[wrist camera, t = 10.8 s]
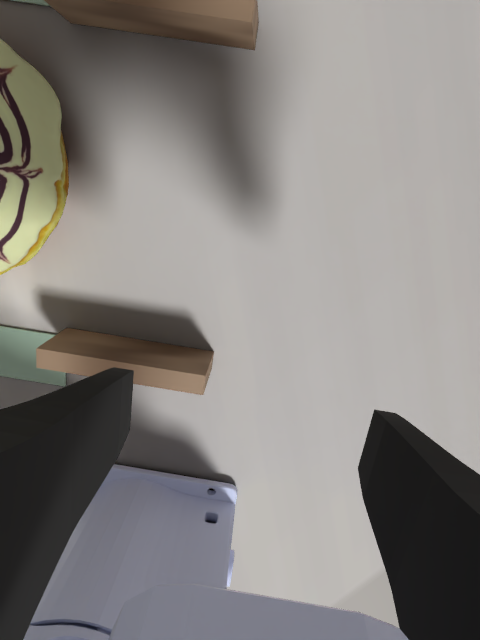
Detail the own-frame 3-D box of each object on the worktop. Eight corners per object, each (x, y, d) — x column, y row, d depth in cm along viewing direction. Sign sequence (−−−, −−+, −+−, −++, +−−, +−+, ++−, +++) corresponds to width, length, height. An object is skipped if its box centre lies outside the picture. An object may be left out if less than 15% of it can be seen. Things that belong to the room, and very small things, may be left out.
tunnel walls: (258, 22, 17) (256, -12, 14) (211, 368, 22) (203, 395, 19) (71, -5, 17) (31, -44, 14) (66, 344, 22) (36, 367, 19)
